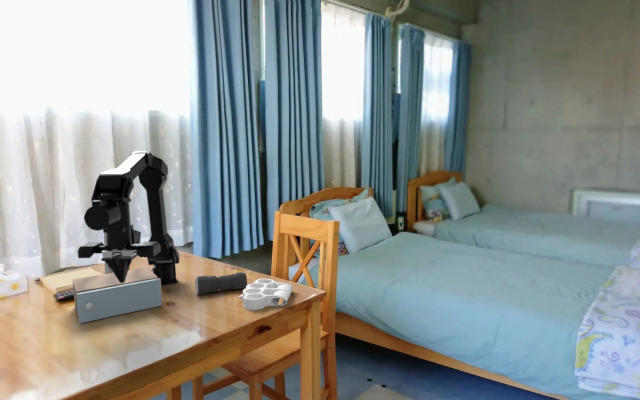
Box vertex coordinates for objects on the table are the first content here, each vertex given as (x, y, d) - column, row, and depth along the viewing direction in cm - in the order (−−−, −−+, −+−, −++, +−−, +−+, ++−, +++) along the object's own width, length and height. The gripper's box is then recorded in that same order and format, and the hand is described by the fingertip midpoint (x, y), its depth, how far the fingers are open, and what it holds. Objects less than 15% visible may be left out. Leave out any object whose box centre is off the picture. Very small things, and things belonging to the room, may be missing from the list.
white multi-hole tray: (284, 312, 118) (231, 310, 119) (294, 289, 135) (248, 288, 137) (284, 300, 117) (230, 299, 118) (294, 278, 135) (248, 277, 136)
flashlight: (245, 285, 139) (244, 268, 138) (248, 290, 134) (248, 273, 133) (195, 291, 134) (194, 274, 133) (197, 297, 129) (196, 280, 128)
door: (161, 304, 123) (160, 278, 122) (163, 306, 121) (162, 280, 120) (79, 322, 111) (76, 293, 110) (80, 324, 110) (77, 295, 108)
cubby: (150, 292, 133) (148, 267, 132) (159, 304, 123) (157, 277, 122) (75, 306, 122) (72, 279, 121) (78, 321, 112) (76, 291, 111)
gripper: (166, 216, 117) (169, 272, 120) (96, 217, 117) (101, 273, 120) (150, 224, 106) (154, 285, 109) (73, 225, 106) (79, 287, 108)
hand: (122, 282), depth 112 cm, fingers closed
